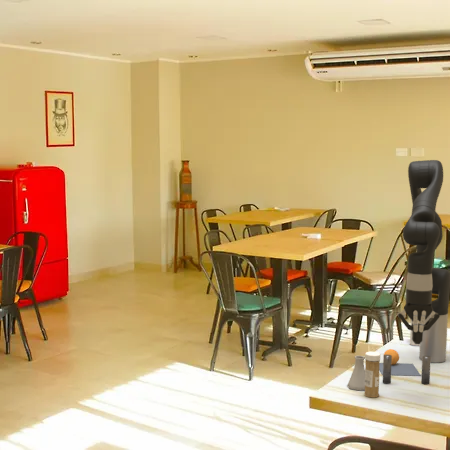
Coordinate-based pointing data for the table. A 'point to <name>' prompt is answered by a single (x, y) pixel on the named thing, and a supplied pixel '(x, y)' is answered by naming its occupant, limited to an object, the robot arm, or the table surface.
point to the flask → (358, 375)
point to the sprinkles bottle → (372, 374)
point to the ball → (394, 355)
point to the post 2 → (426, 370)
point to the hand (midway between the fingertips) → (416, 343)
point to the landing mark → (401, 369)
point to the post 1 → (387, 369)
